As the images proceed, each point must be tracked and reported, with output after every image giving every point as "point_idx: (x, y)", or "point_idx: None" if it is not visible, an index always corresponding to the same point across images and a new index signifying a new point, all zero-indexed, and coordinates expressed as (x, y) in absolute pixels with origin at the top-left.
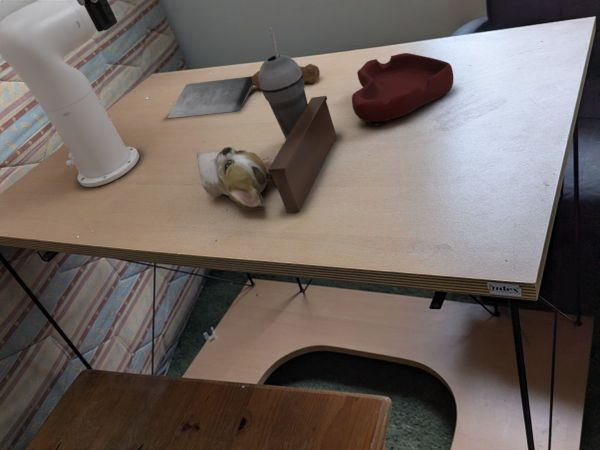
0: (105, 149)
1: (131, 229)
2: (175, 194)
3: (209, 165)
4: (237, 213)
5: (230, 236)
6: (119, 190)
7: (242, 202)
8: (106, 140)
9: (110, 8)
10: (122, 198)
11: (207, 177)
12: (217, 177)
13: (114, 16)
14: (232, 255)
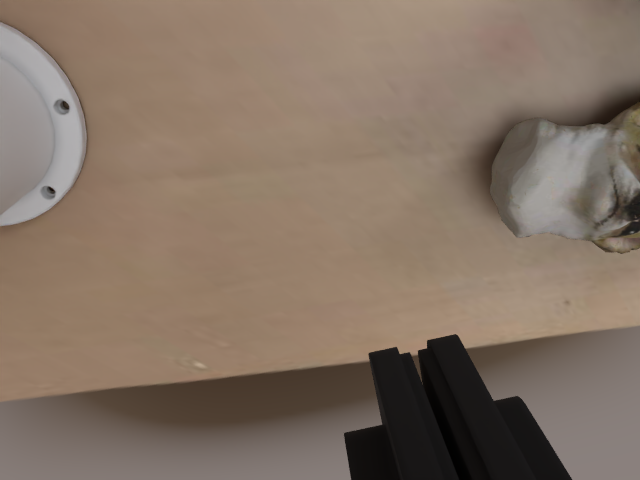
0: (23, 170)
1: (331, 319)
2: (357, 197)
3: (552, 216)
4: None
5: (592, 287)
6: (145, 210)
7: (630, 247)
8: (13, 158)
9: (552, 454)
10: (193, 237)
11: (542, 232)
12: (582, 237)
13: (519, 399)
14: (619, 324)
